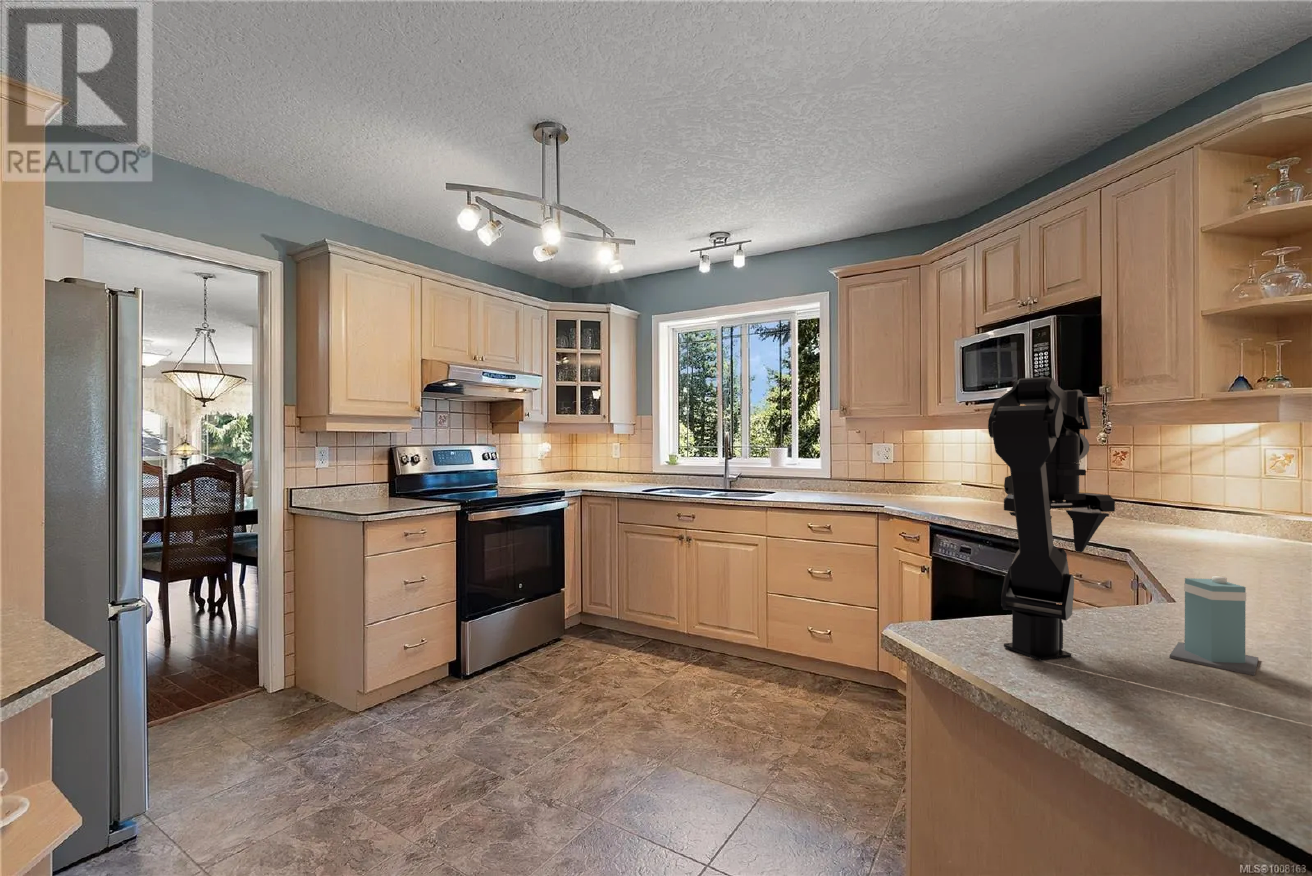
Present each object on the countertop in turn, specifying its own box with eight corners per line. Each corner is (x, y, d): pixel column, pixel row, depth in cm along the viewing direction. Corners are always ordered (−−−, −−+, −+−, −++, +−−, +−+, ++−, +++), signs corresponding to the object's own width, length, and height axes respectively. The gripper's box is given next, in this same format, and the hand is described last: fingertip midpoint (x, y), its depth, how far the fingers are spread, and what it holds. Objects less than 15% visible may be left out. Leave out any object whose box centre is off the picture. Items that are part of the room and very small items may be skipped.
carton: (1211, 661, 87) (1211, 580, 87) (1184, 649, 92) (1184, 572, 92) (1246, 663, 86) (1246, 581, 86) (1216, 651, 91) (1216, 573, 92)
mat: (1254, 675, 83) (1254, 672, 83) (1169, 657, 89) (1169, 655, 89) (1258, 660, 89) (1258, 657, 89) (1178, 644, 96) (1178, 642, 96)
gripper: (1057, 461, 114) (1057, 543, 114) (978, 461, 109) (978, 547, 109) (1117, 463, 103) (1116, 554, 103) (1032, 463, 98) (1032, 559, 98)
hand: (1058, 553), depth 104 cm, fingers open, 9 cm apart
